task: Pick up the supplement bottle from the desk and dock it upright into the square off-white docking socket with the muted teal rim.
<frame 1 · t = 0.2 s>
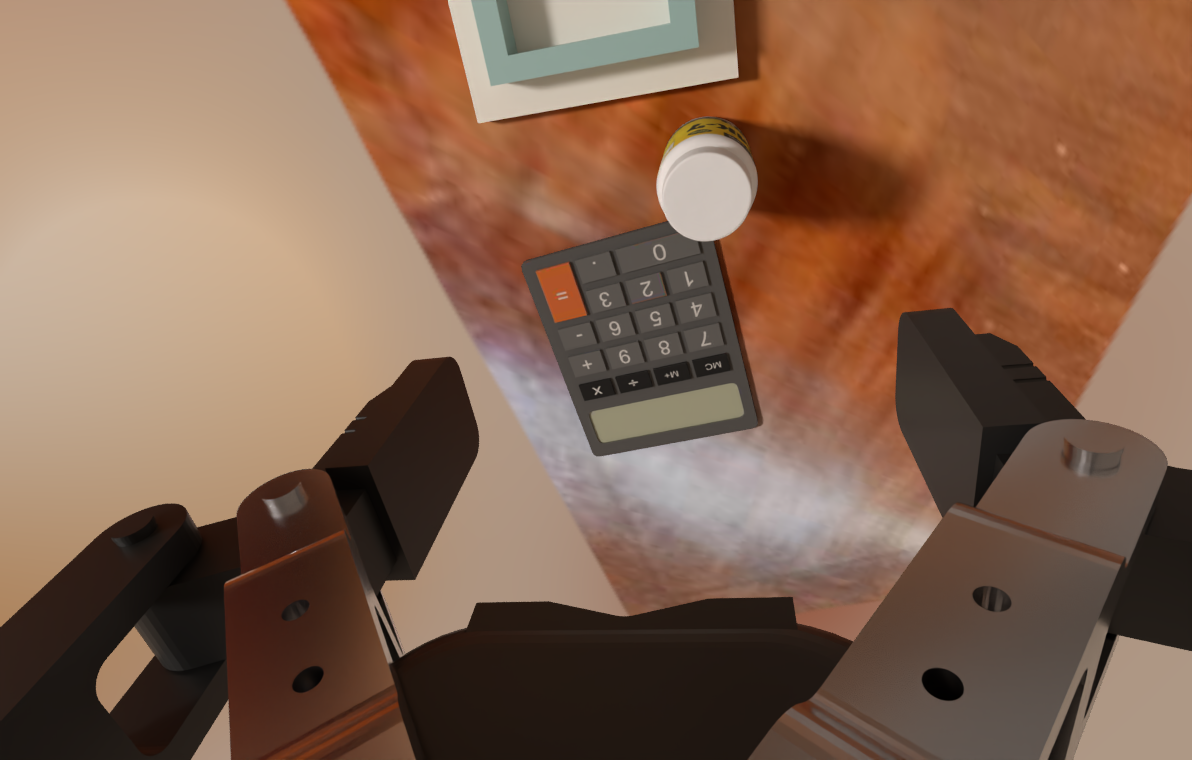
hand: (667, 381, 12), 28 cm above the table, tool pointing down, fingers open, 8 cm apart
calculator: (645, 342, 43), on the table
supplement bottle: (706, 159, 37), on the table
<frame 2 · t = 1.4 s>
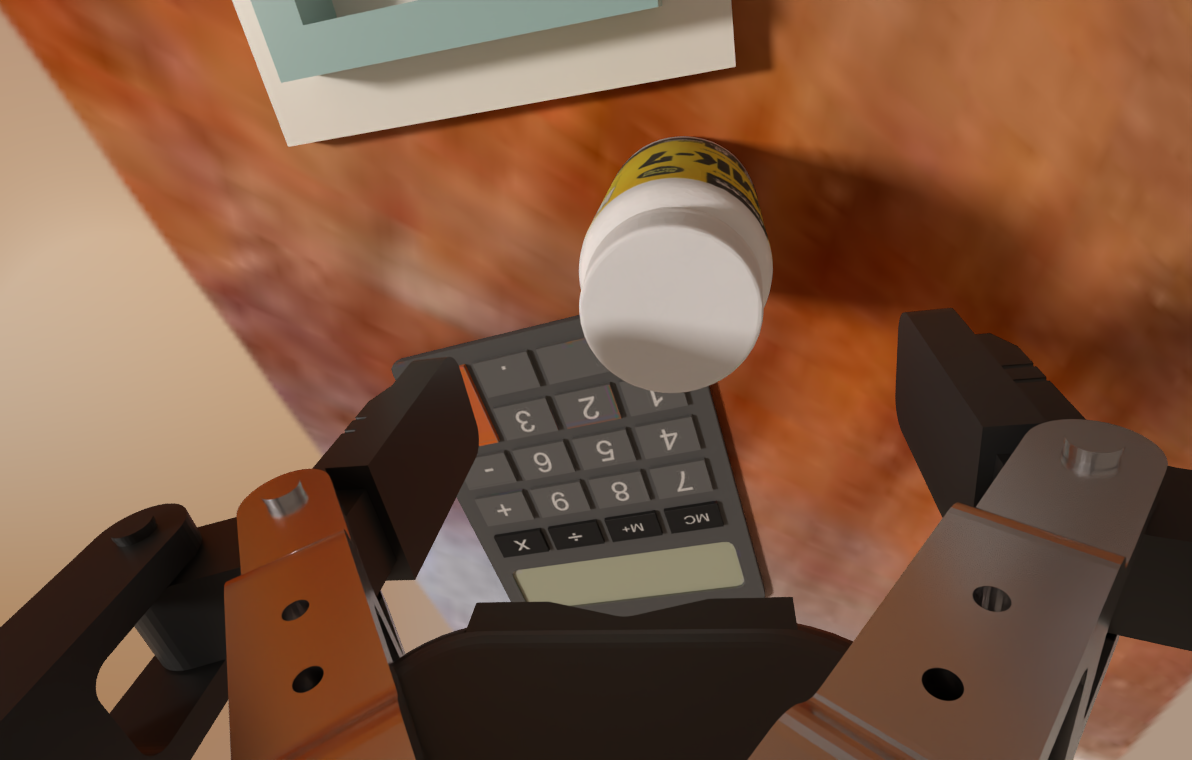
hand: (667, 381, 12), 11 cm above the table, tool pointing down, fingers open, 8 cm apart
calculator: (592, 476, 28), on the table
supplement bottle: (680, 207, 22), on the table
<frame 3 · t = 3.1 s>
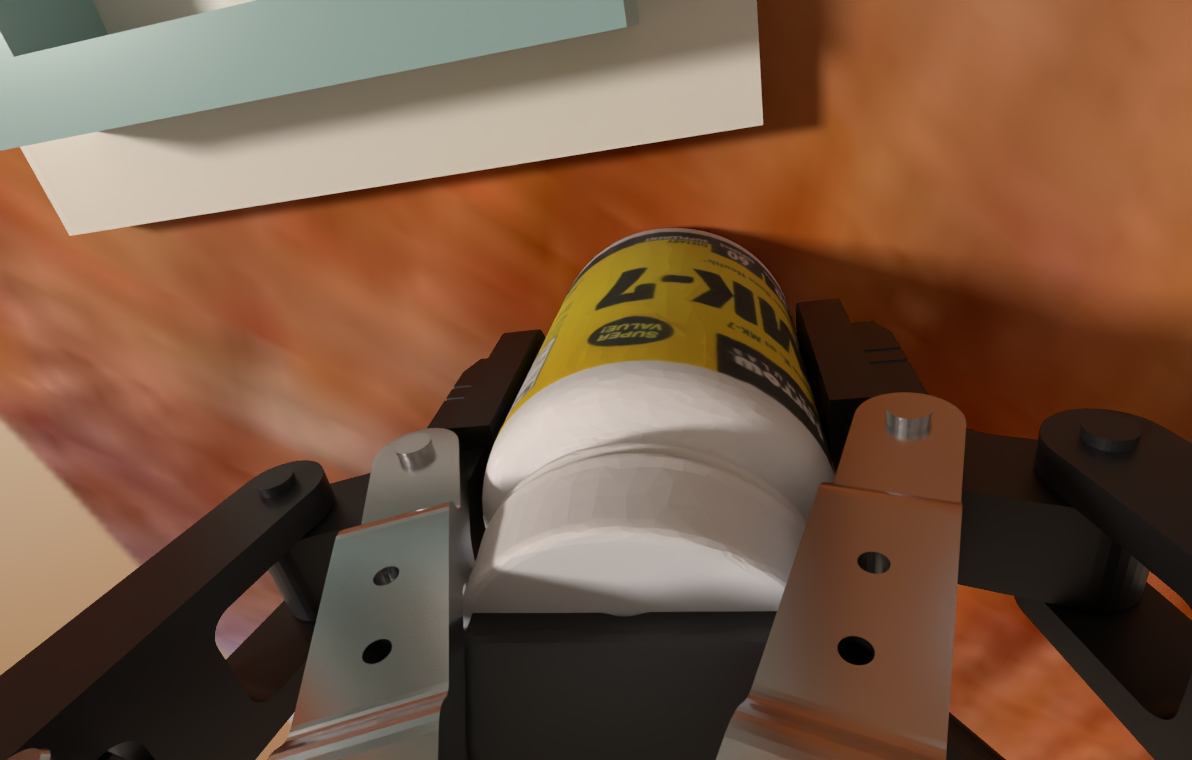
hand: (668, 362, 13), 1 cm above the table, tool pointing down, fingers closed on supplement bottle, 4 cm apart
supplement bottle: (673, 327, 14), on the table, touching gripper
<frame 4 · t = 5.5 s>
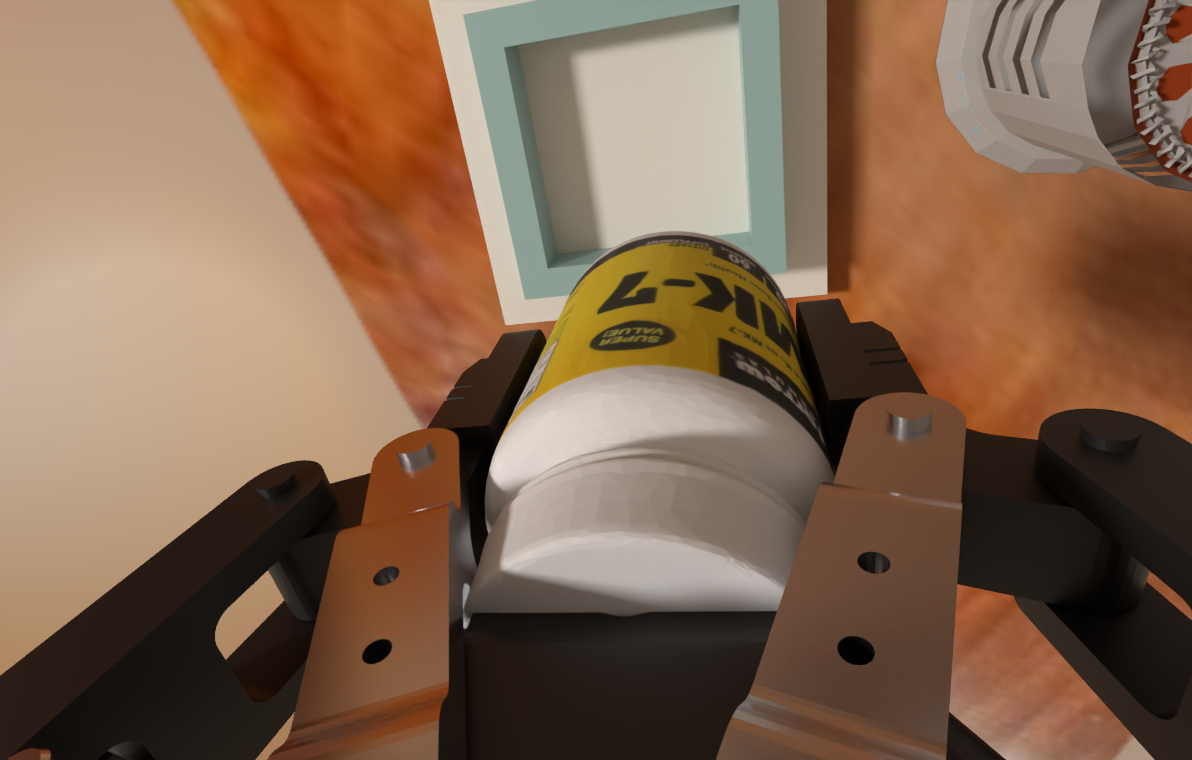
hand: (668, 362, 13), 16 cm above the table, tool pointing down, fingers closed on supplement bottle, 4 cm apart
supplement bottle: (674, 330, 14), point 15 cm above the table, touching gripper
dock socket: (640, 138, 26), on the table
french press: (1109, 3, 23), on the table
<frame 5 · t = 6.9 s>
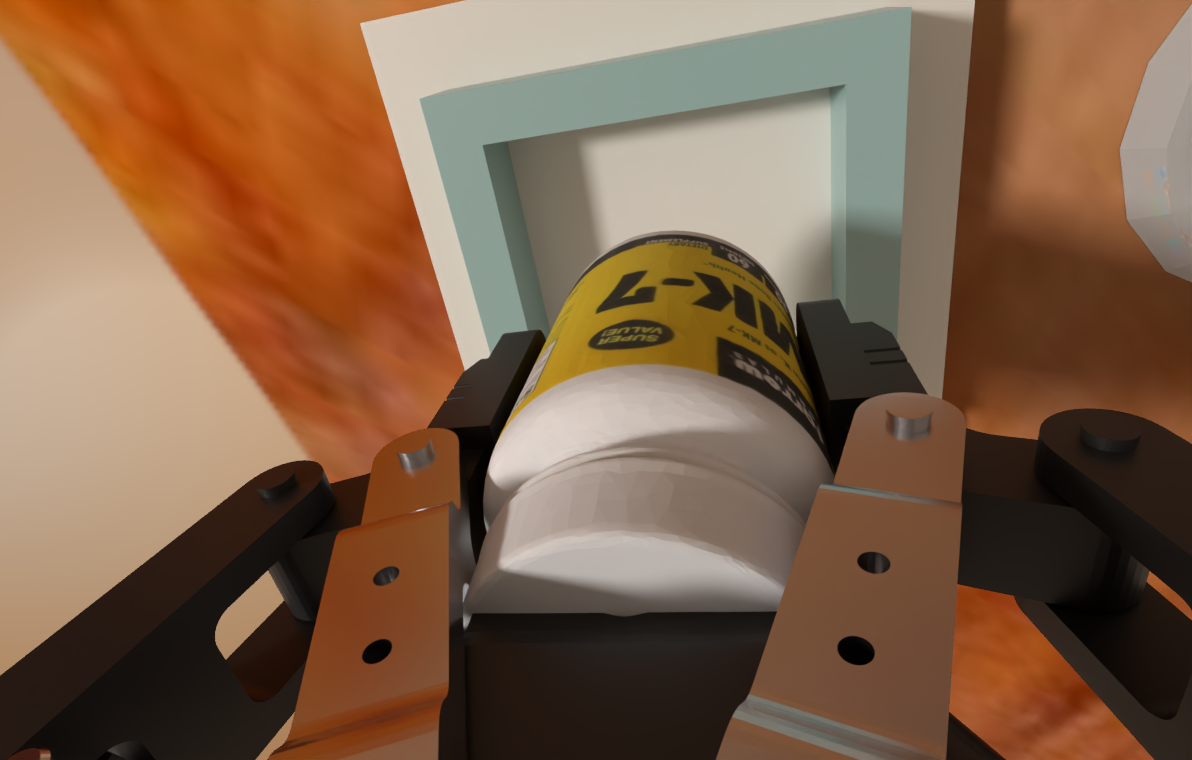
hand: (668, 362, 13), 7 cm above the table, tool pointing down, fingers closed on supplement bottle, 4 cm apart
supplement bottle: (673, 329, 14), point 5 cm above the table, touching gripper
dock socket: (679, 248, 19), on the table
when the fingers open (4 cm above the table, at t = 7.8 s): supplement bottle drops 2 cm, resting on dock socket.
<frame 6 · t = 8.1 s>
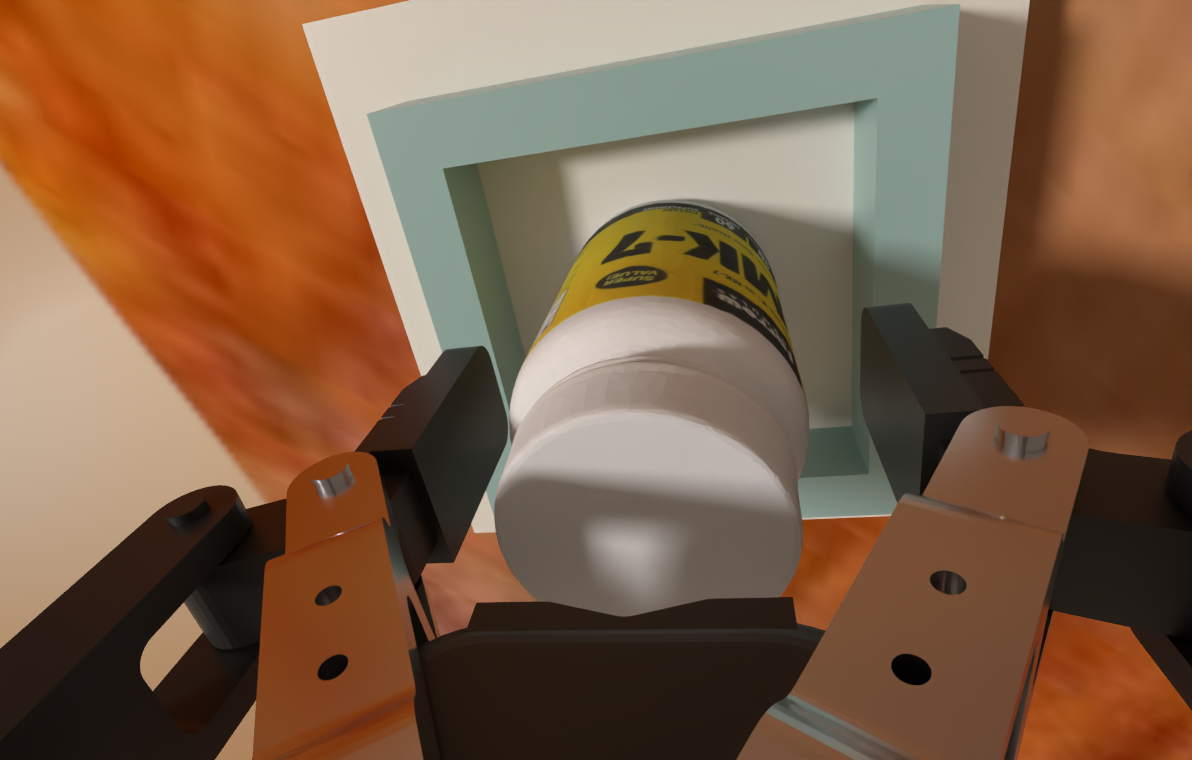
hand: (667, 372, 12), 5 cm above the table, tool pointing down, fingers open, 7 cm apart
supplement bottle: (669, 291, 16), point 1 cm above the table, touching dock socket
dock socket: (676, 281, 17), on the table
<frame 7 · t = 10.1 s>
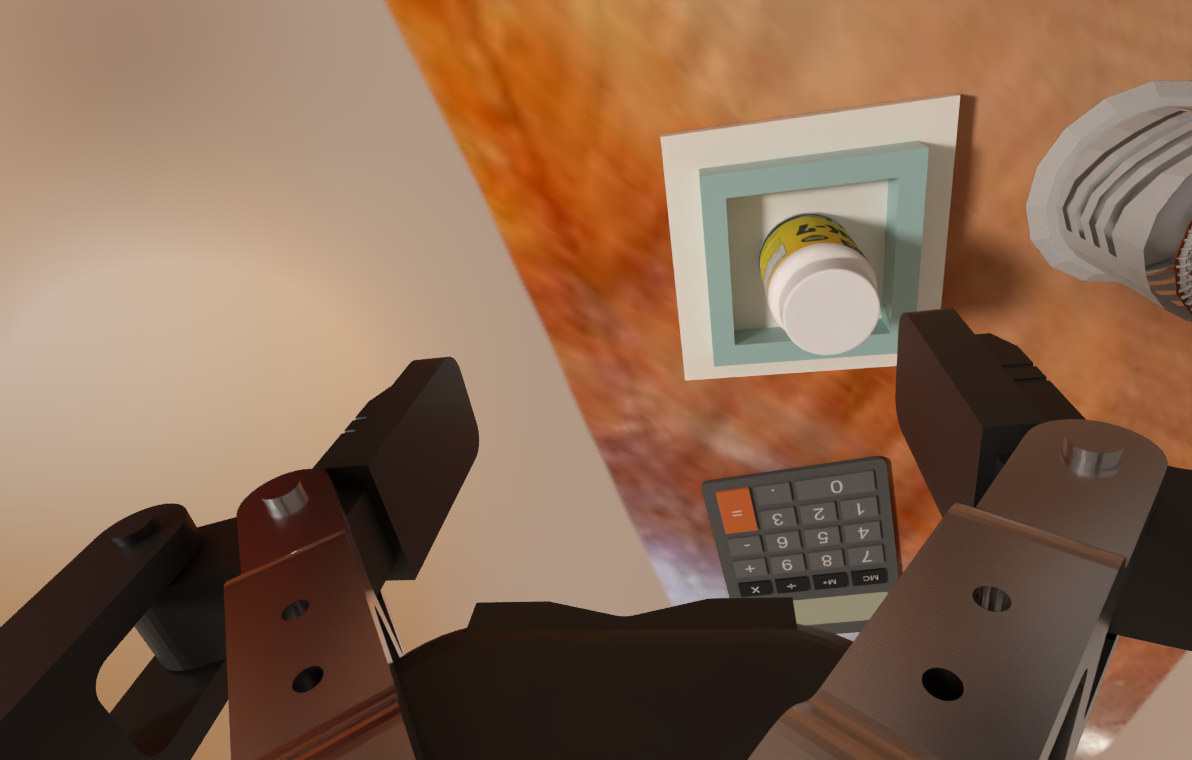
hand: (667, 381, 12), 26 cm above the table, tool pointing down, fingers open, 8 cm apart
calculator: (804, 549, 47), on the table
supplement bottle: (802, 253, 35), point 1 cm above the table, touching dock socket
dock socket: (802, 250, 36), on the table
french press: (1150, 172, 32), on the table
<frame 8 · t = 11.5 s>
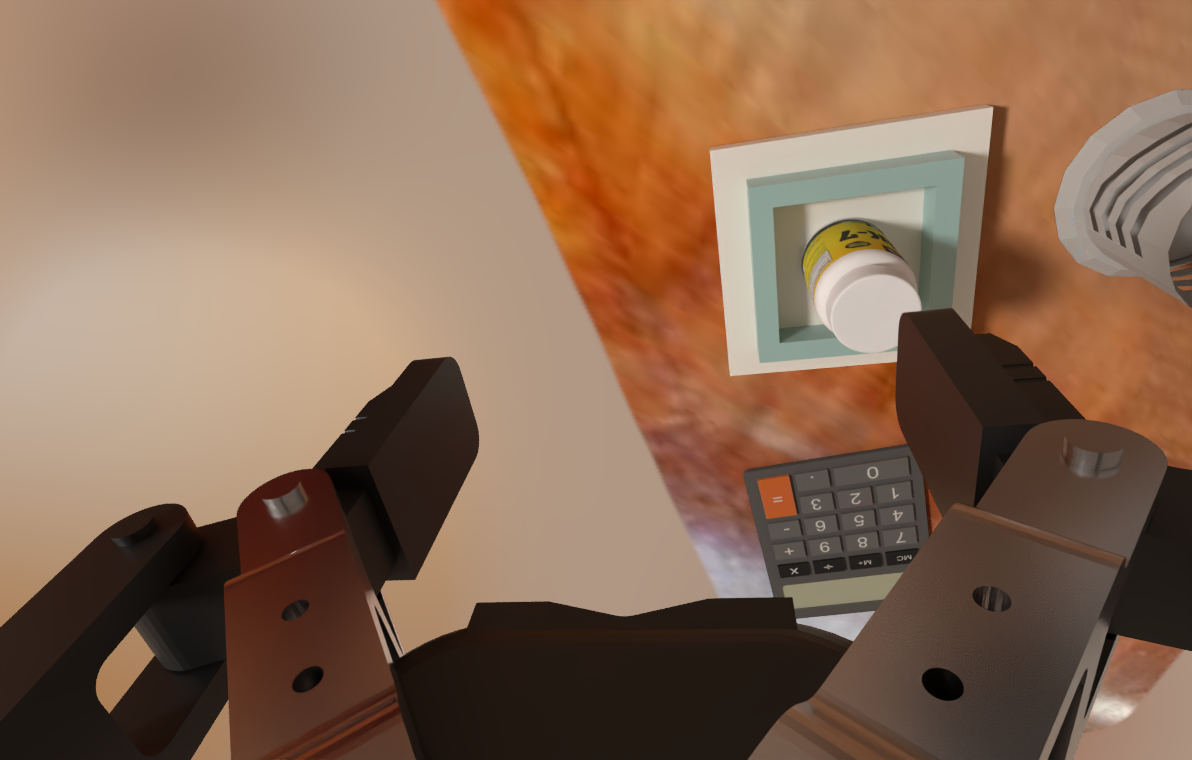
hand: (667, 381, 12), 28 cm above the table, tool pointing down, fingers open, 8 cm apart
calculator: (840, 532, 49), on the table
supplement bottle: (842, 256, 38), point 1 cm above the table, touching dock socket
dock socket: (842, 252, 38), on the table
french press: (1173, 173, 34), on the table
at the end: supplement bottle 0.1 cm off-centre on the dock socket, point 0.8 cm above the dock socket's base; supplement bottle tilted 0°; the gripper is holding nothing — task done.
